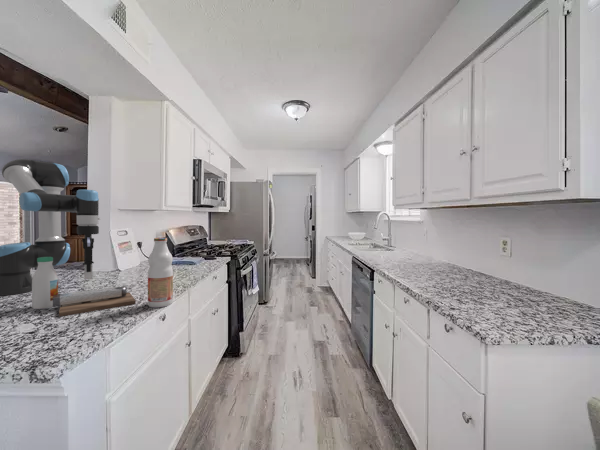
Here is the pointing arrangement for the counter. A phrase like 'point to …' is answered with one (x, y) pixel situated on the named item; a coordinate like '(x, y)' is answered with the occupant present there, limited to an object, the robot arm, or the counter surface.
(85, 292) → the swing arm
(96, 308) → the label board
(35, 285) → the milk bottle
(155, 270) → the fruit juice
